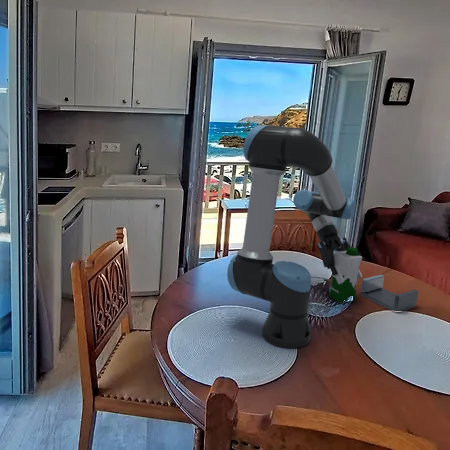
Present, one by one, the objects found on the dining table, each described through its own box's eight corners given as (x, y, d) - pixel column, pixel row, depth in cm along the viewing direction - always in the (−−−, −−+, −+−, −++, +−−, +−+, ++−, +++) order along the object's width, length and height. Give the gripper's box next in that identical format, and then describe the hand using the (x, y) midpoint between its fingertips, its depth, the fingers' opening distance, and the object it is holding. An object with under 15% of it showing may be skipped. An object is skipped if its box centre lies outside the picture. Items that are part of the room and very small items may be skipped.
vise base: (415, 307, 164) (418, 291, 162) (396, 313, 158) (399, 296, 156) (378, 290, 178) (381, 275, 176) (360, 295, 172) (362, 279, 170)
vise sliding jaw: (383, 287, 176) (385, 276, 174) (364, 292, 170) (366, 281, 169) (379, 286, 177) (381, 274, 176) (360, 291, 172) (362, 279, 170)
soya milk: (358, 301, 166) (365, 251, 161) (339, 305, 163) (346, 254, 157) (343, 292, 174) (349, 244, 168) (325, 295, 170) (330, 246, 165)
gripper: (338, 229, 180) (364, 279, 172) (298, 236, 169) (323, 289, 160) (350, 220, 175) (377, 271, 166) (309, 226, 163) (336, 281, 155)
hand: (350, 280), depth 163 cm, fingers closed on soya milk, 9 cm apart
